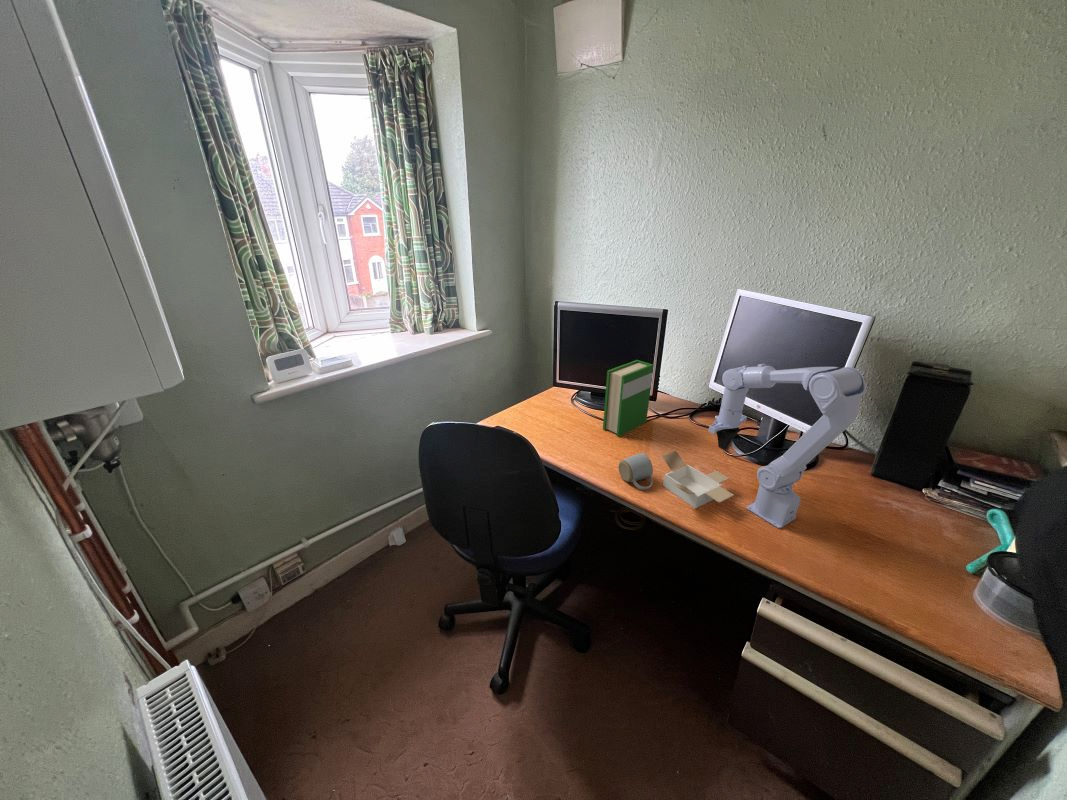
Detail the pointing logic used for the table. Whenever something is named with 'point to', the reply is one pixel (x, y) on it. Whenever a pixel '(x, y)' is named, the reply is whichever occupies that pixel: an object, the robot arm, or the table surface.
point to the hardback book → (627, 396)
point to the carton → (697, 486)
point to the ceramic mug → (636, 469)
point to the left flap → (683, 488)
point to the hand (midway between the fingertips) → (722, 447)
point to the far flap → (673, 460)
